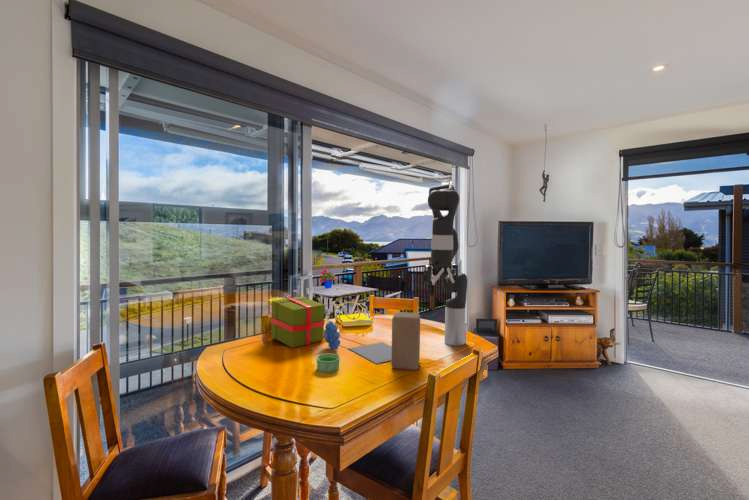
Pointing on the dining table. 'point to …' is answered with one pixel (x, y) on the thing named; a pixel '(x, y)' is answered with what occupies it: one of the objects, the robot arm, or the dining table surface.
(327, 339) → the grapes
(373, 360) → the mat
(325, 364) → the ramekin
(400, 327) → the block
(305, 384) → the dining table surface
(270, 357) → the dining table surface
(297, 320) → the gift box
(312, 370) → the dining table surface
